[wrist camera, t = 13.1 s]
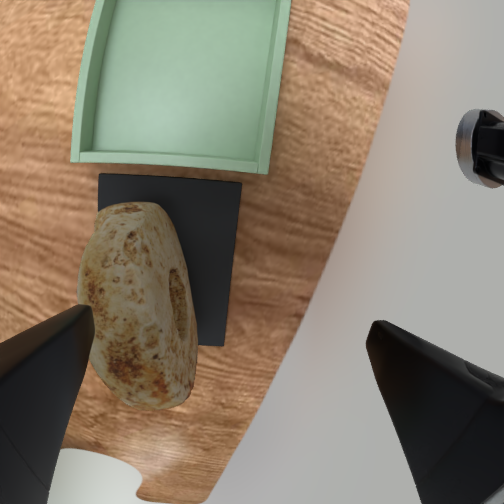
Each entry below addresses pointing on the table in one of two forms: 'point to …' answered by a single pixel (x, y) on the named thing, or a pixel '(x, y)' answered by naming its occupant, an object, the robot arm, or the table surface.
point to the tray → (181, 83)
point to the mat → (191, 235)
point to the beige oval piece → (140, 306)
